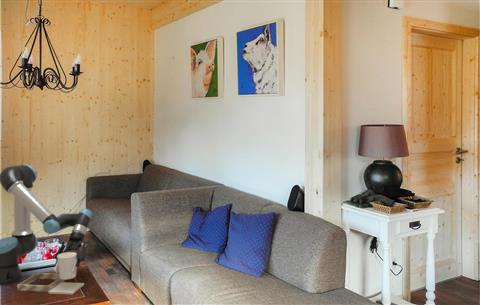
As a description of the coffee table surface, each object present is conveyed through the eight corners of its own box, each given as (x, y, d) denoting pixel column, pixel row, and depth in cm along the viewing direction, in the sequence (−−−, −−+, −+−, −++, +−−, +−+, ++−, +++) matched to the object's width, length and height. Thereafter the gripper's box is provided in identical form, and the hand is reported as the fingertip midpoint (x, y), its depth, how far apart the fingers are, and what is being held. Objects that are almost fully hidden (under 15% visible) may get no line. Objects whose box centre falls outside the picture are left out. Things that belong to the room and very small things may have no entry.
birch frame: (17, 290, 222) (17, 284, 221) (37, 277, 239) (37, 272, 239) (49, 291, 220) (48, 286, 219) (66, 279, 238) (66, 274, 237)
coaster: (48, 293, 218) (48, 291, 218) (61, 283, 230) (61, 282, 230) (72, 294, 216) (72, 292, 216) (84, 284, 229) (84, 283, 229)
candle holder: (70, 280, 217) (69, 258, 216) (53, 279, 219) (53, 257, 218) (81, 274, 227) (80, 252, 226) (65, 272, 229) (64, 251, 228)
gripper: (98, 238, 236) (86, 275, 221) (62, 237, 238) (48, 274, 223) (94, 231, 230) (81, 269, 215) (57, 230, 232) (41, 268, 218)
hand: (64, 271), depth 219 cm, fingers closed on candle holder, 9 cm apart
